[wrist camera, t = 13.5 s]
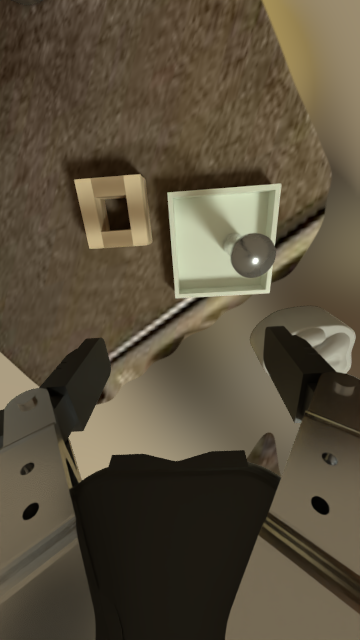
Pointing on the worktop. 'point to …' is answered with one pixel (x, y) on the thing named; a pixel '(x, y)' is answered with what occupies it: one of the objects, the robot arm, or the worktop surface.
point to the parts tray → (218, 237)
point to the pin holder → (96, 215)
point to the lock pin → (250, 253)
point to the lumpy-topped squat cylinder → (310, 334)
